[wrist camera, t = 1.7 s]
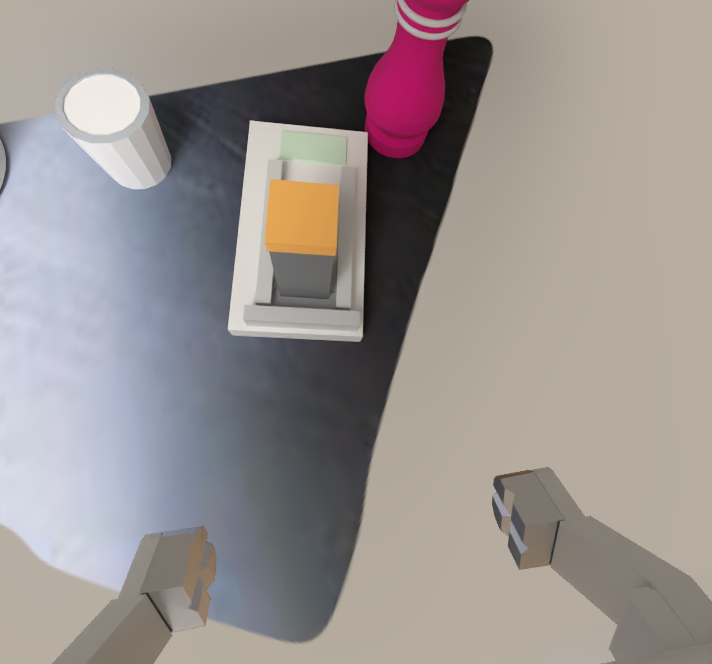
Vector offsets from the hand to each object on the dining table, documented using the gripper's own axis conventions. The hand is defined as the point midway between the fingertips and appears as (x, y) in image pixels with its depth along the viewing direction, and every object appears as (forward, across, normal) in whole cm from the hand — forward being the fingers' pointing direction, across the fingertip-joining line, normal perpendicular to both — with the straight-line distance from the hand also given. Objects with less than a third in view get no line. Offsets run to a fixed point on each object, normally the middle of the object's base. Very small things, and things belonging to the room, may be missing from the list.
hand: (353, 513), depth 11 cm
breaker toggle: (+25, +2, +2) cm, 25 cm away
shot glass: (+35, +16, -8) cm, 39 cm away
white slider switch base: (+30, +2, 0) cm, 30 cm away
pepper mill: (+38, -9, -7) cm, 40 cm away
